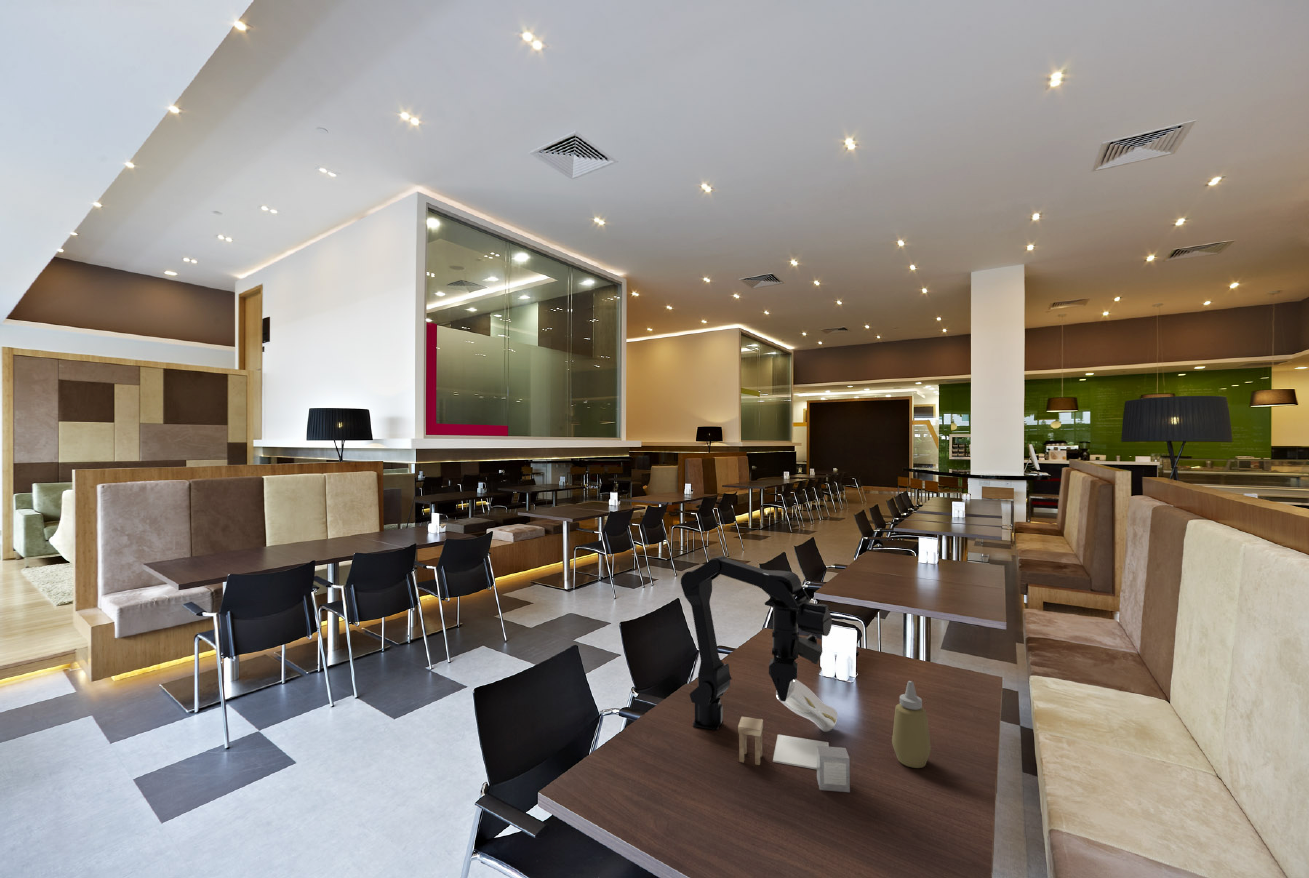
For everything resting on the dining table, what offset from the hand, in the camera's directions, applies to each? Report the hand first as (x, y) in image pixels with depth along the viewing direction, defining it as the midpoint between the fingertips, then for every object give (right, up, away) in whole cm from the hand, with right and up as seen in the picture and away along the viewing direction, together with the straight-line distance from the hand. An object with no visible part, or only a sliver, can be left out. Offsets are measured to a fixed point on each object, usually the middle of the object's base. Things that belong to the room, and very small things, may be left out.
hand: (784, 692), depth 131 cm
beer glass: (+14, -11, +9) cm, 20 cm away
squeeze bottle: (+28, -14, -5) cm, 31 cm away
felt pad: (+4, -13, -2) cm, 14 cm away
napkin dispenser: (+7, -13, -14) cm, 21 cm away
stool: (-9, -13, -4) cm, 16 cm away
